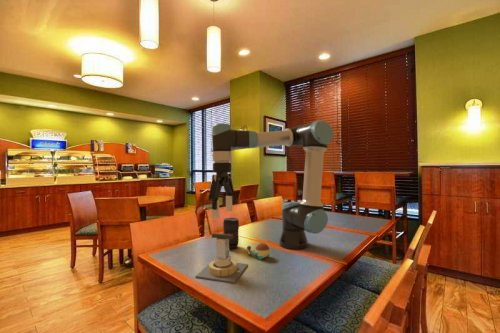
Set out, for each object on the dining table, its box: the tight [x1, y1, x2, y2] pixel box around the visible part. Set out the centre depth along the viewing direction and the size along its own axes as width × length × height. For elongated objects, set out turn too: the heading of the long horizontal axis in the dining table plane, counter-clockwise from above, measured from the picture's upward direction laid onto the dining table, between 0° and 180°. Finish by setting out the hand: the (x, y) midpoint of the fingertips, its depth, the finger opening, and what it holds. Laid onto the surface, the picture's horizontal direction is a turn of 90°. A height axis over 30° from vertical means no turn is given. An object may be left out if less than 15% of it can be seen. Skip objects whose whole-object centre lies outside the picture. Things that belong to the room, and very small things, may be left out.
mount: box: [195, 258, 248, 284], centre depth 96 cm, size 16×16×3 cm
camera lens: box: [222, 217, 240, 251], centre depth 123 cm, size 8×8×15 cm
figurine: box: [246, 242, 270, 261], centre depth 111 cm, size 7×10×7 cm
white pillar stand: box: [211, 232, 233, 268], centre depth 96 cm, size 6×9×14 cm
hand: (222, 214), depth 96 cm, fingers open, 13 cm apart
